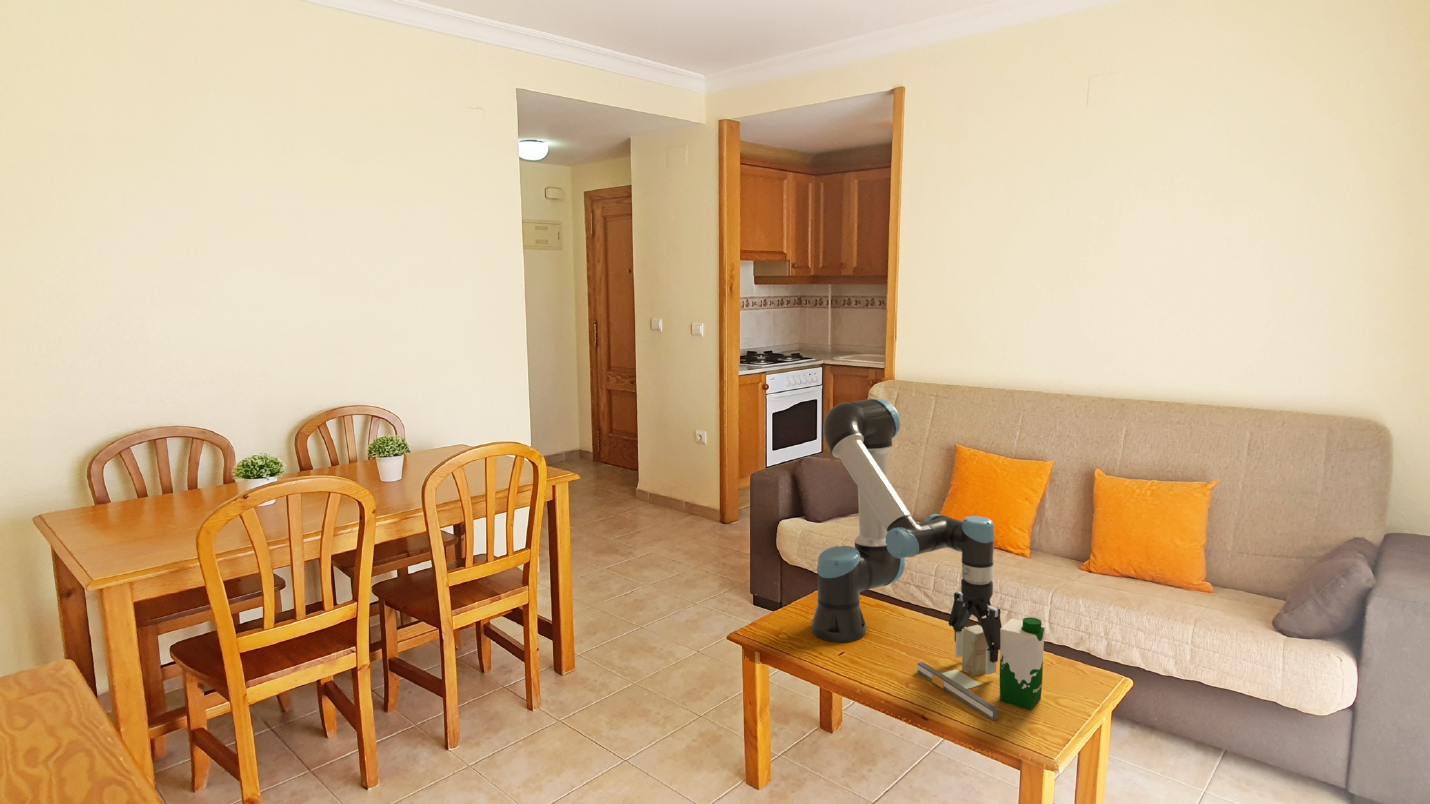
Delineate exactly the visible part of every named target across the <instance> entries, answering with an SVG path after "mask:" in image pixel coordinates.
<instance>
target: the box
mask: <svg viewBox="0 0 1430 804" xmlns="http://www.w3.org/2000/svg"><path fill="white" fill-rule="evenodd" d="M962 630H963V650H962V656H961V657H962V659H961V670H962V671H964V672H965V673H967V674H968V675H969V674H970V675H971V676H978V675H982V674H985V672H986V648H989V647H988V644H987V641H986V638H985V635H984V632H983V629H982V626H981V625H979V624H975V625H970V626H967V627H965V628H963V629H962Z"/></svg>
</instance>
